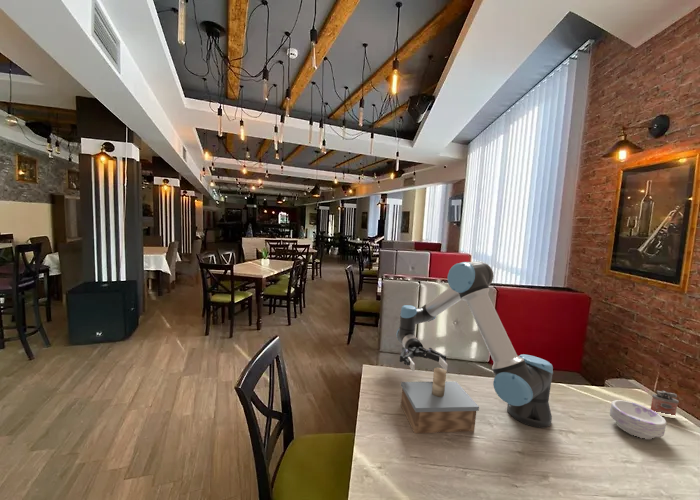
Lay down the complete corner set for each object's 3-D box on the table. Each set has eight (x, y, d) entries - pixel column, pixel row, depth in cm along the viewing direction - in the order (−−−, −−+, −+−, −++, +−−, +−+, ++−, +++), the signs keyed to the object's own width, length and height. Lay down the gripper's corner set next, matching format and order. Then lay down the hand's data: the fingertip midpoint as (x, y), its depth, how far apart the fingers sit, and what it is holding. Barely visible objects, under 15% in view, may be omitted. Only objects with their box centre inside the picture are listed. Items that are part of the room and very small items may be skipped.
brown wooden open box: (453, 404, 127) (455, 385, 126) (474, 431, 111) (476, 410, 110) (400, 405, 123) (402, 386, 123) (414, 433, 108) (416, 411, 107)
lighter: (651, 414, 129) (655, 391, 128) (647, 409, 132) (651, 387, 131) (677, 420, 126) (681, 396, 125) (672, 415, 129) (676, 392, 128)
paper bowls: (660, 431, 118) (664, 411, 117) (665, 452, 107) (669, 430, 106) (608, 412, 128) (611, 394, 127) (607, 430, 116) (610, 410, 116)
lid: (456, 384, 126) (458, 360, 125) (478, 410, 110) (481, 382, 108) (400, 385, 123) (403, 359, 122) (415, 412, 106) (418, 382, 105)
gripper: (437, 353, 147) (459, 376, 126) (385, 353, 143) (398, 376, 122) (439, 338, 146) (460, 358, 125) (387, 337, 142) (400, 358, 122)
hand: (430, 367), depth 124 cm, fingers open, 13 cm apart
